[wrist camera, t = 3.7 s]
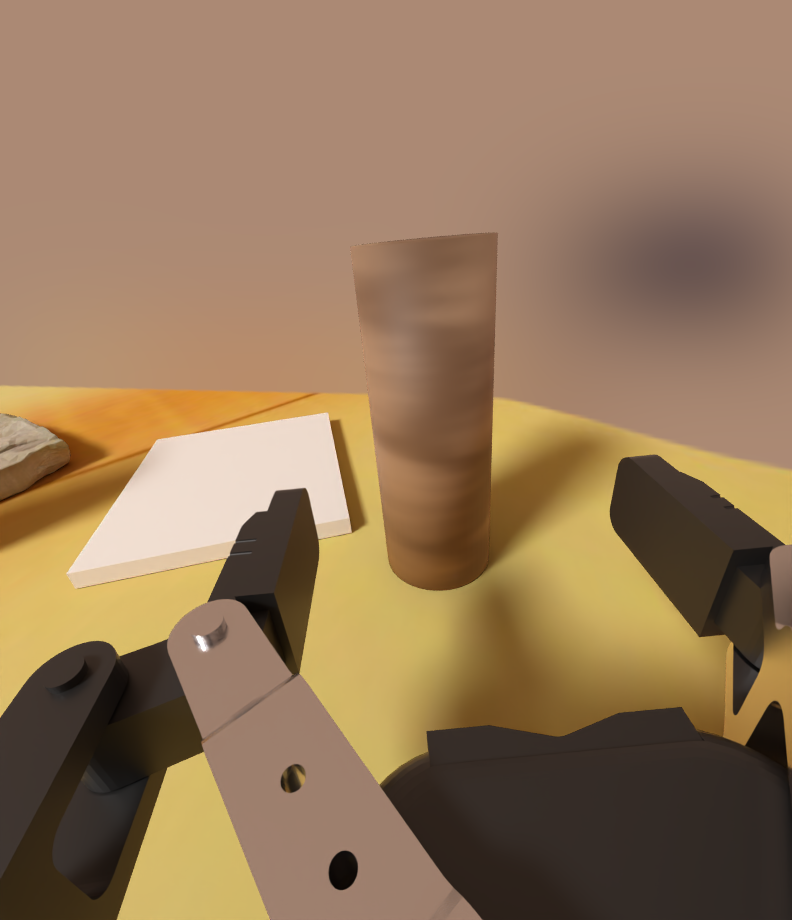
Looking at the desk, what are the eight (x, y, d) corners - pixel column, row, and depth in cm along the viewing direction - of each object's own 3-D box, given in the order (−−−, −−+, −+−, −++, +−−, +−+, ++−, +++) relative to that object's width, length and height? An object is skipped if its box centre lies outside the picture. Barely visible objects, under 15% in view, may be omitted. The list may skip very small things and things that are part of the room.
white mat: (329, 423, 37) (327, 412, 36) (351, 532, 23) (349, 518, 23) (161, 450, 35) (157, 439, 34) (75, 588, 21) (66, 573, 21)
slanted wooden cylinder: (467, 515, 24) (465, 233, 17) (506, 576, 19) (525, 231, 13) (380, 532, 23) (342, 245, 16) (400, 601, 19) (361, 248, 12)
